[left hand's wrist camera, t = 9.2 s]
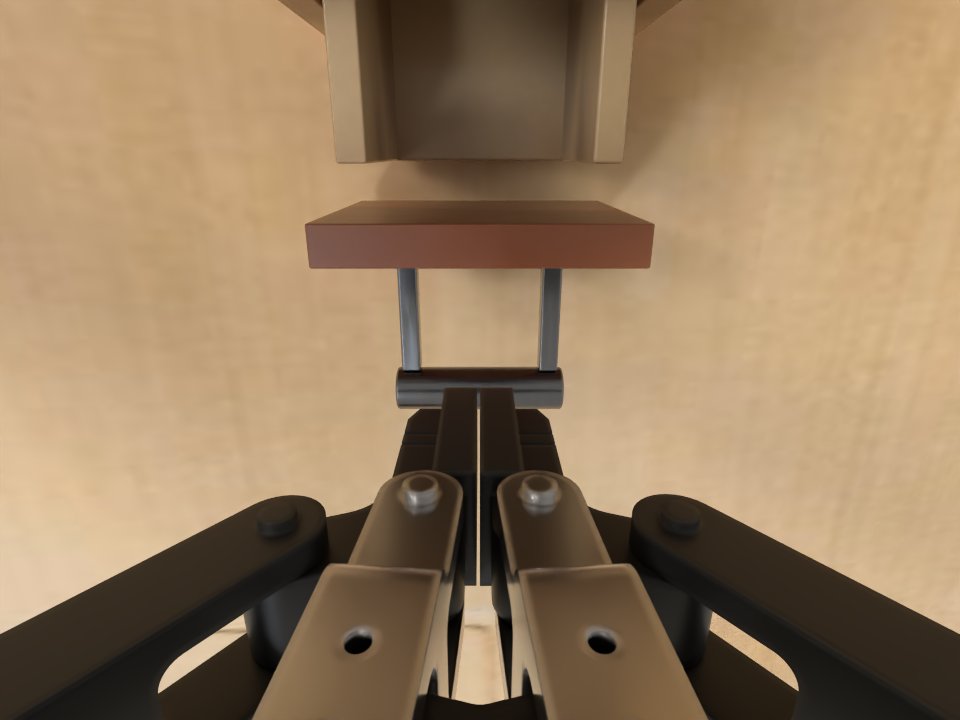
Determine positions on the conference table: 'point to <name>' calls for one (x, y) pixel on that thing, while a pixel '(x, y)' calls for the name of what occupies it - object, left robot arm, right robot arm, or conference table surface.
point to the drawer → (479, 155)
